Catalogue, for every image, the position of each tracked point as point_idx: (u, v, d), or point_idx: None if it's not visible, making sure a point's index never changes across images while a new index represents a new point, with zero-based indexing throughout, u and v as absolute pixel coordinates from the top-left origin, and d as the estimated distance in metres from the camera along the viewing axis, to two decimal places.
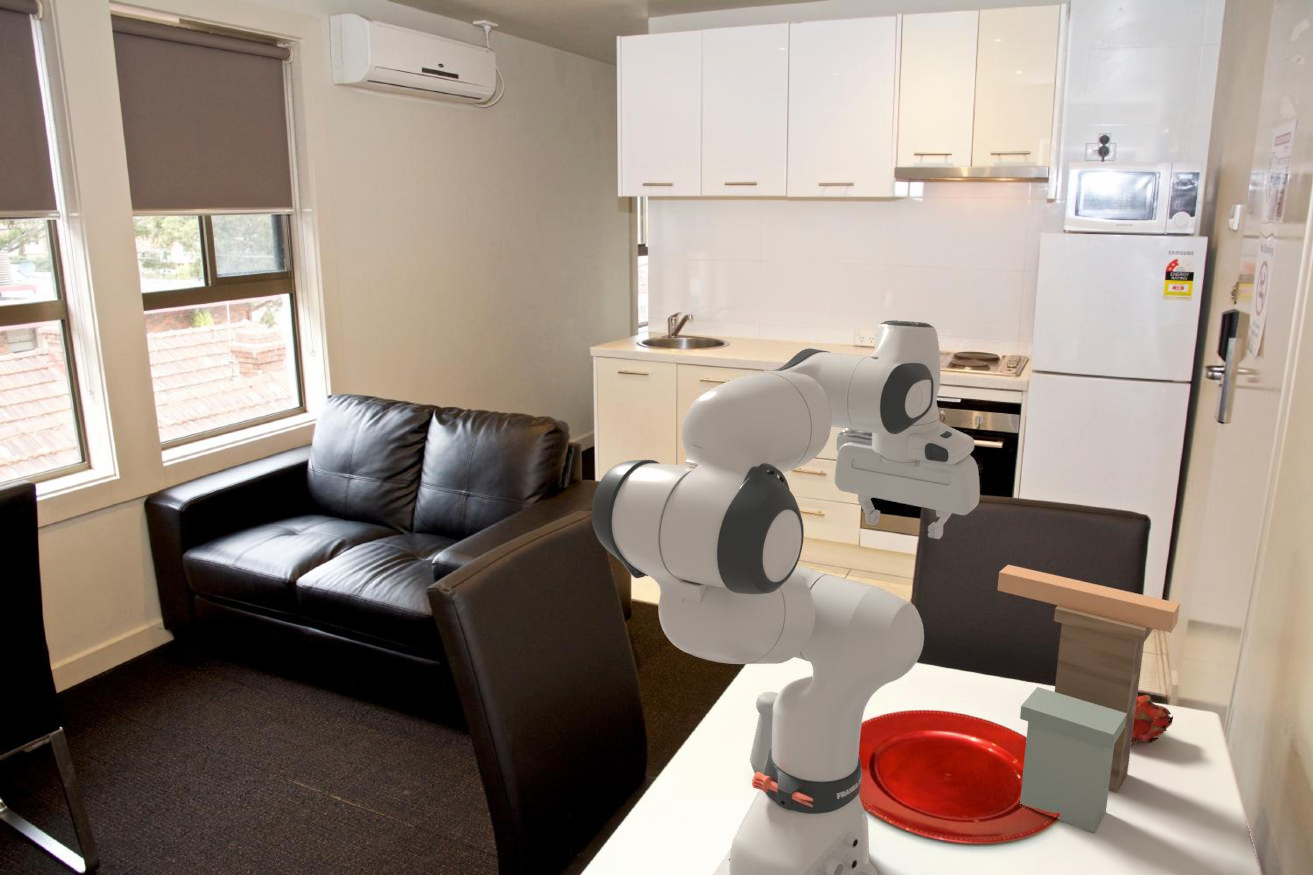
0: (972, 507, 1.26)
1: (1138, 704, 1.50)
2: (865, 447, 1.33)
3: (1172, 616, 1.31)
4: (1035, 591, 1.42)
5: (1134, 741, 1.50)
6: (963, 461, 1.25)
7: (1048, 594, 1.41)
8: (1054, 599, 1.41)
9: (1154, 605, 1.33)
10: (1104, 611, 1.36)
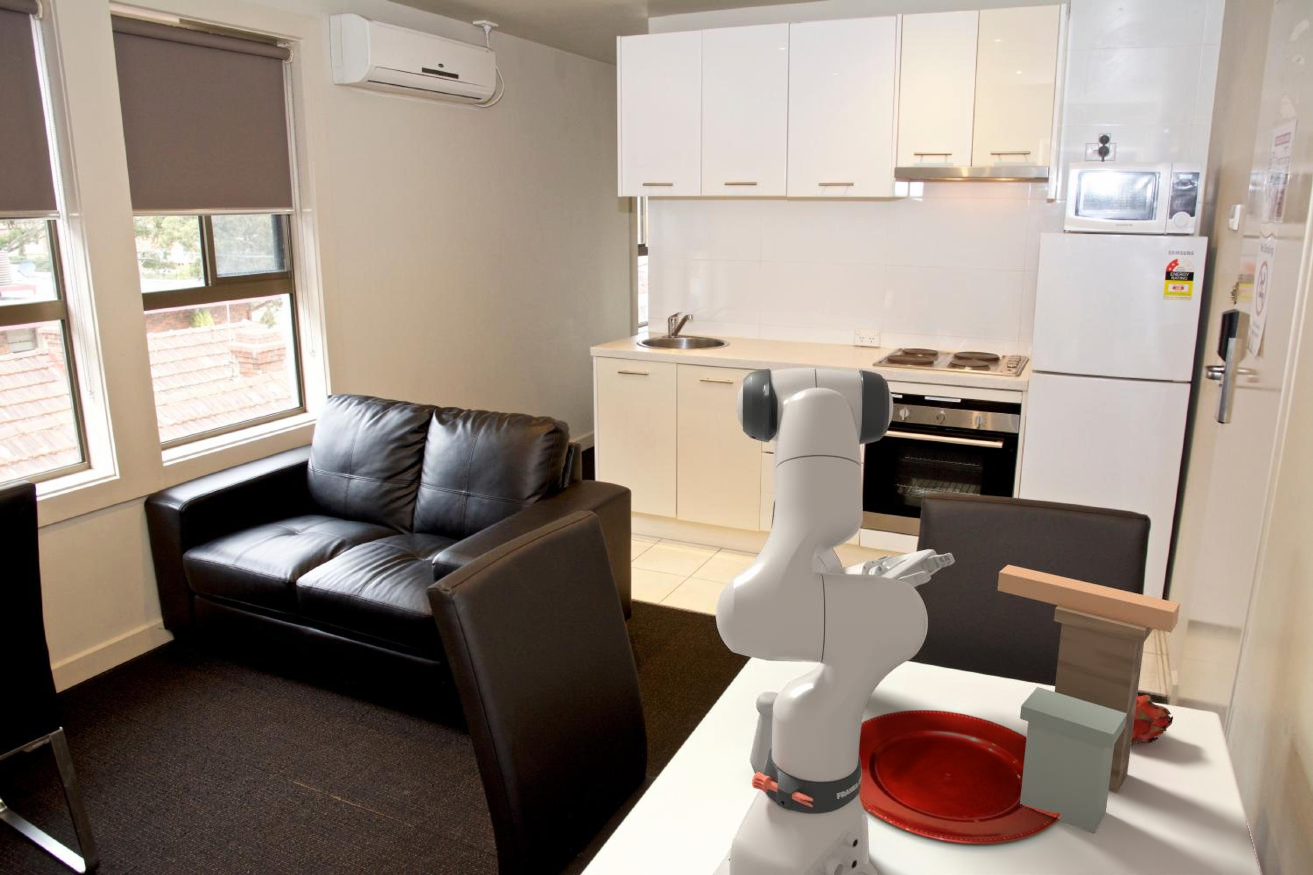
0: None
1: (1138, 704, 1.50)
2: None
3: (1172, 616, 1.31)
4: (1035, 591, 1.42)
5: (1134, 741, 1.50)
6: None
7: (1048, 594, 1.41)
8: (1054, 599, 1.41)
9: (1154, 605, 1.33)
10: (1104, 611, 1.36)
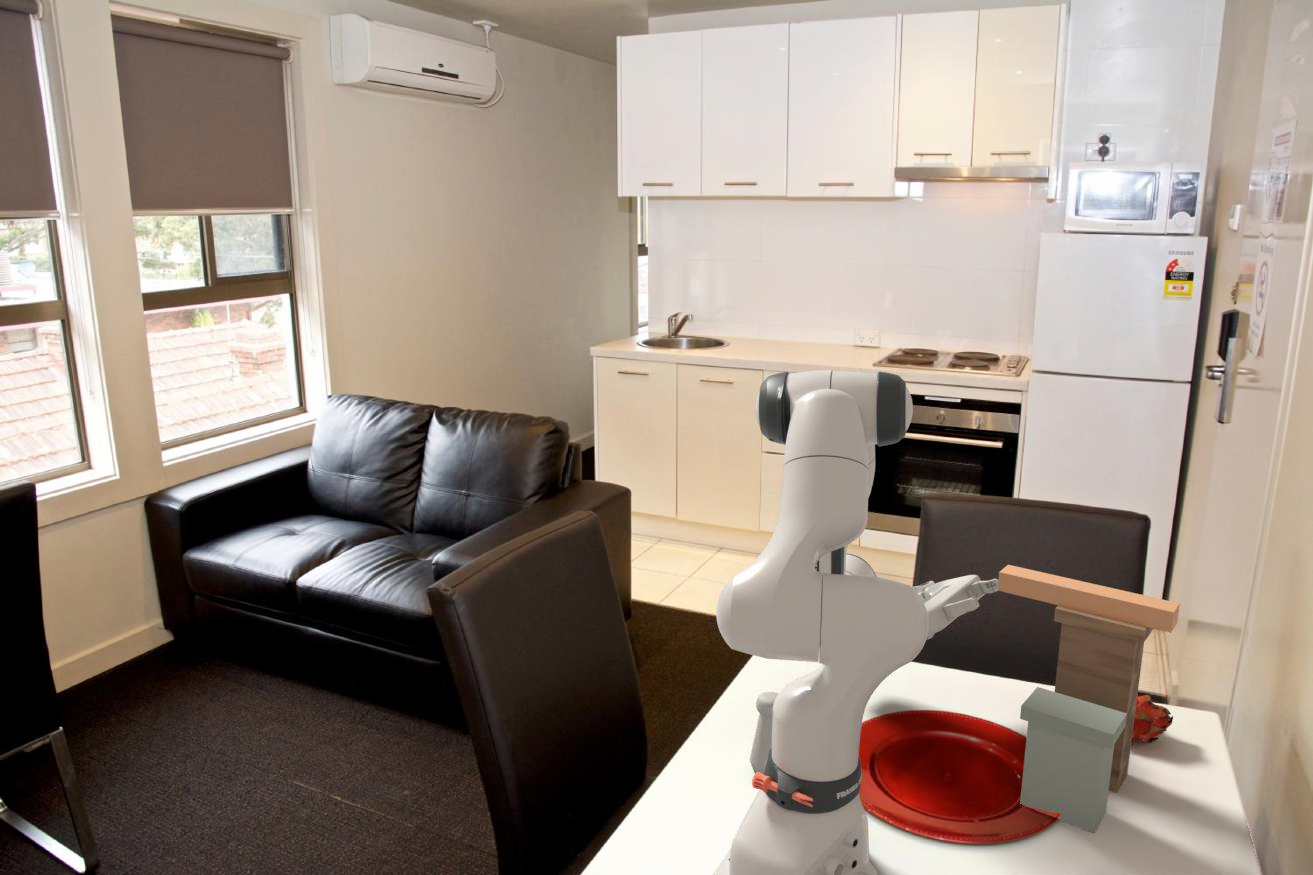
0: None
1: (1138, 704, 1.50)
2: None
3: (1172, 616, 1.31)
4: (1035, 591, 1.42)
5: (1134, 741, 1.50)
6: None
7: (1048, 594, 1.41)
8: (1054, 599, 1.41)
9: (1154, 605, 1.33)
10: (1104, 611, 1.36)
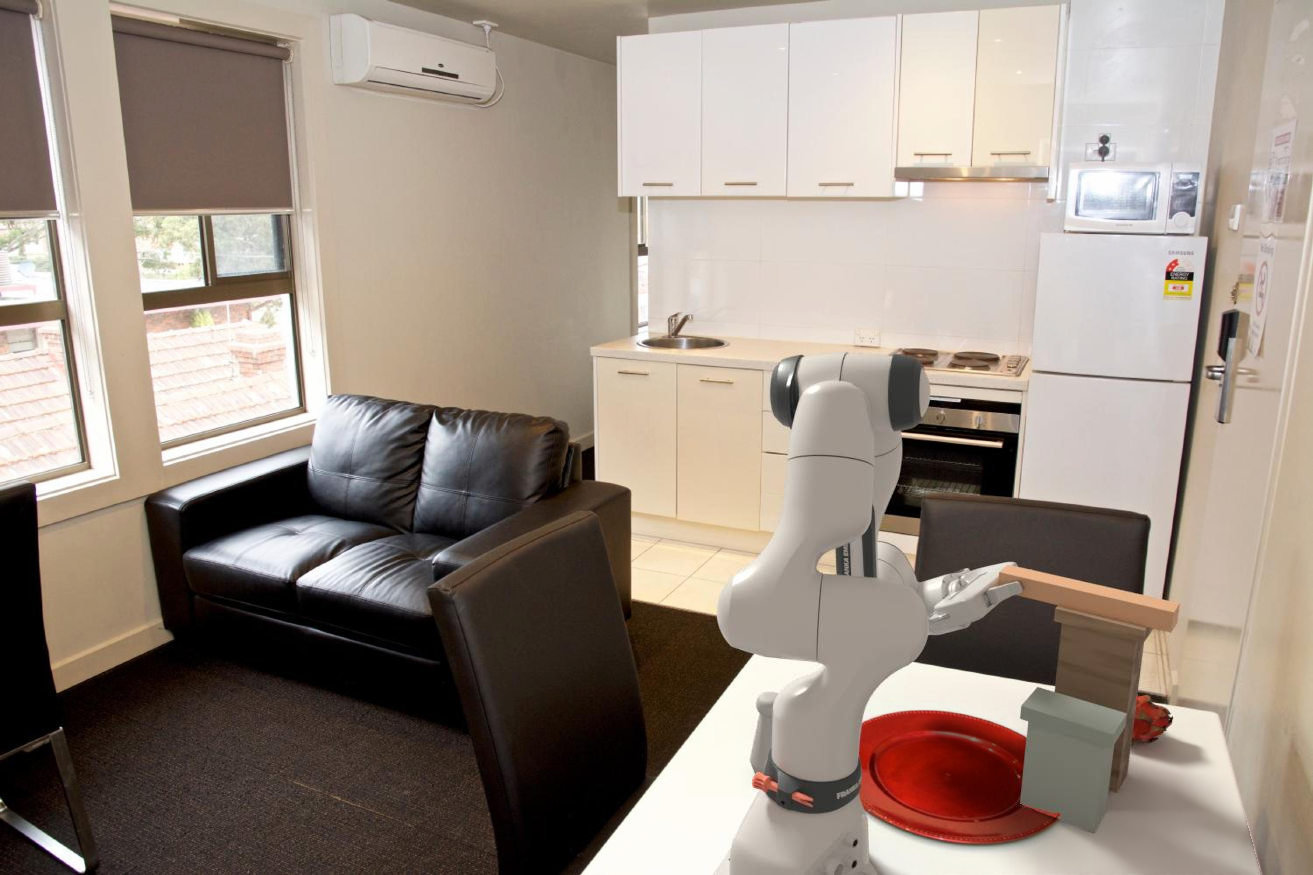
0: None
1: (1138, 704, 1.50)
2: None
3: (1172, 616, 1.31)
4: (1035, 591, 1.42)
5: (1134, 741, 1.50)
6: None
7: (1048, 594, 1.41)
8: (1054, 599, 1.41)
9: (1154, 605, 1.33)
10: (1104, 611, 1.36)
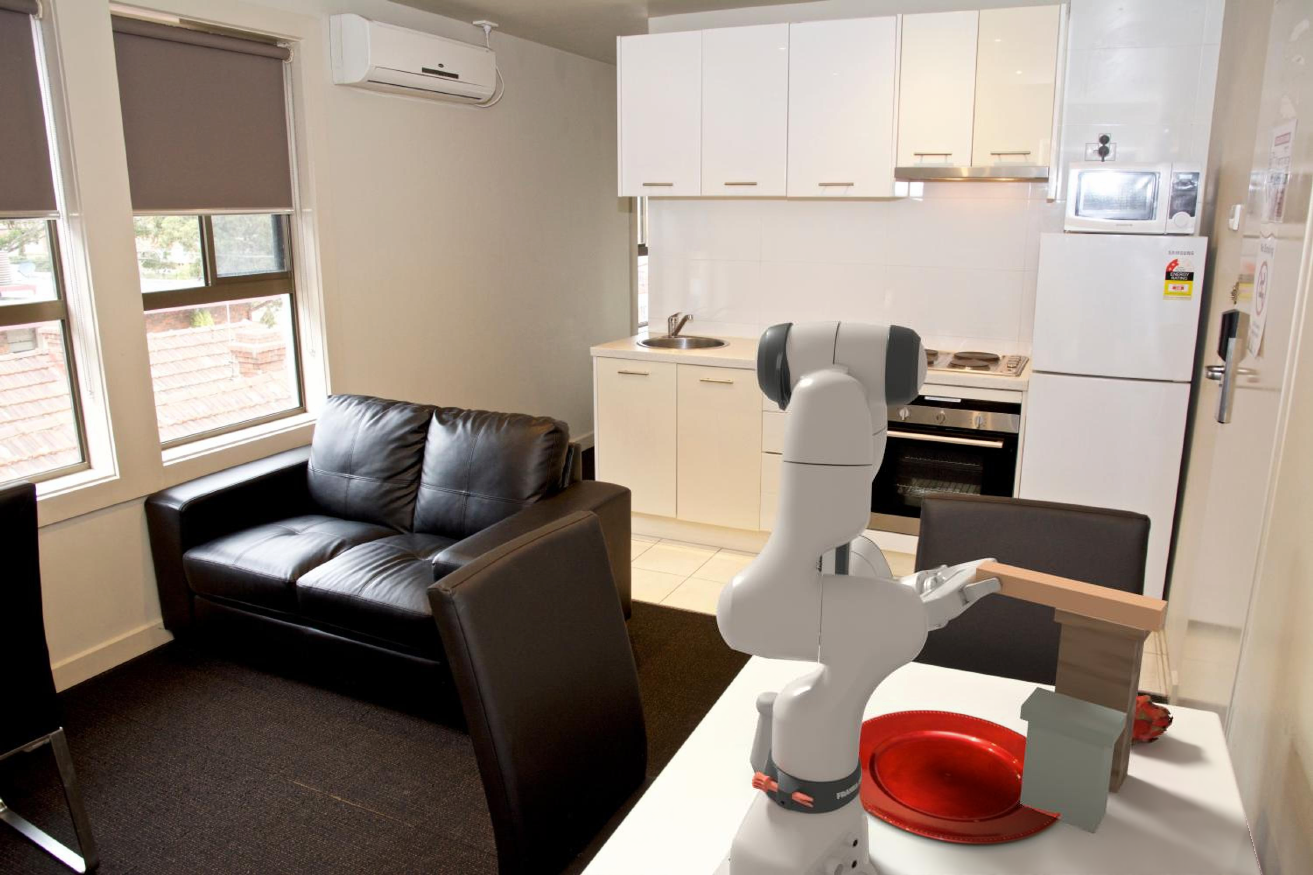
0: None
1: (1138, 704, 1.50)
2: None
3: (1159, 615, 1.22)
4: (1014, 588, 1.33)
5: (1134, 741, 1.50)
6: None
7: (1028, 591, 1.32)
8: (1034, 597, 1.32)
9: (1140, 603, 1.24)
10: (1087, 610, 1.28)
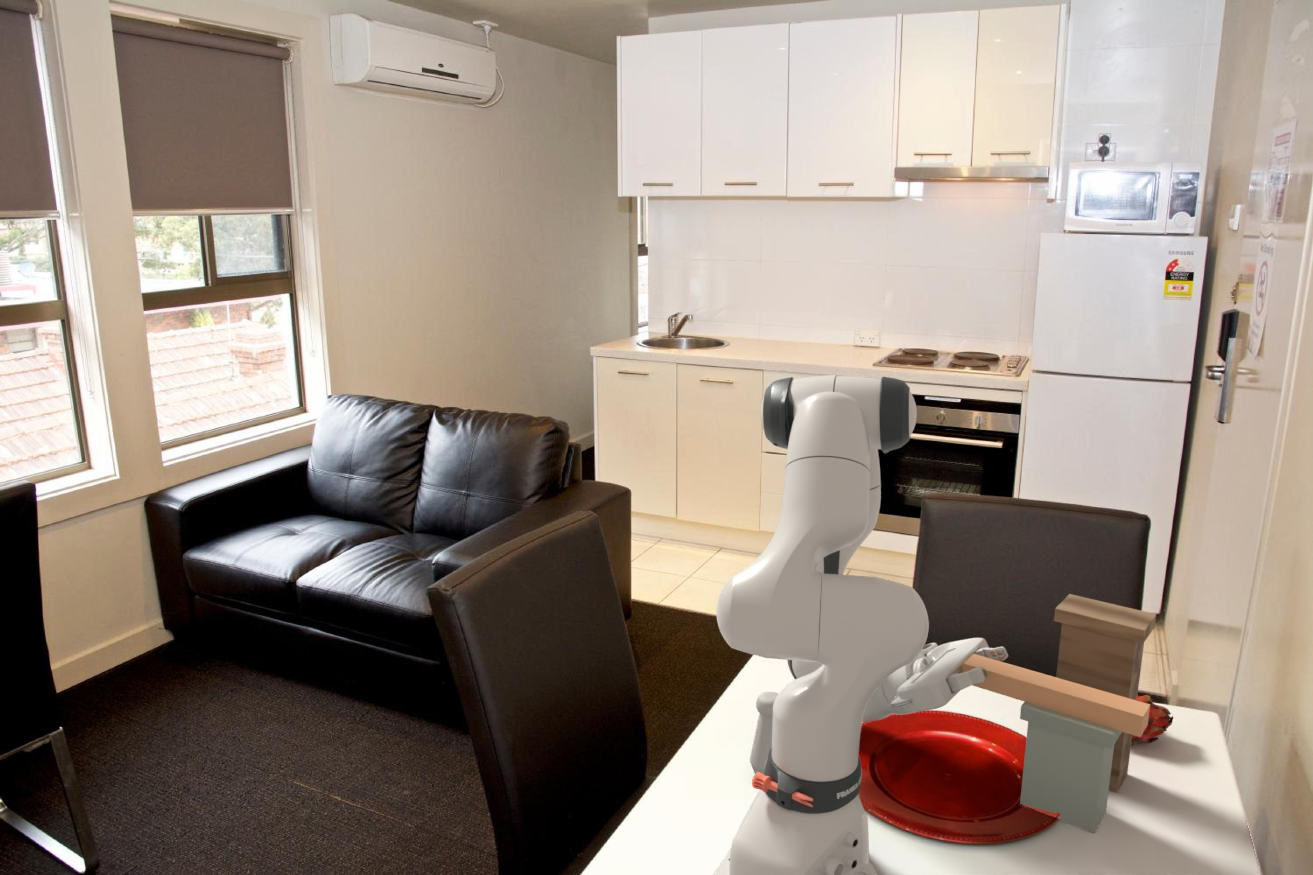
0: None
1: None
2: None
3: (1141, 720, 1.24)
4: (1000, 685, 1.36)
5: (1134, 741, 1.50)
6: None
7: (1014, 689, 1.34)
8: (1020, 695, 1.34)
9: (1123, 706, 1.26)
10: (1071, 711, 1.30)
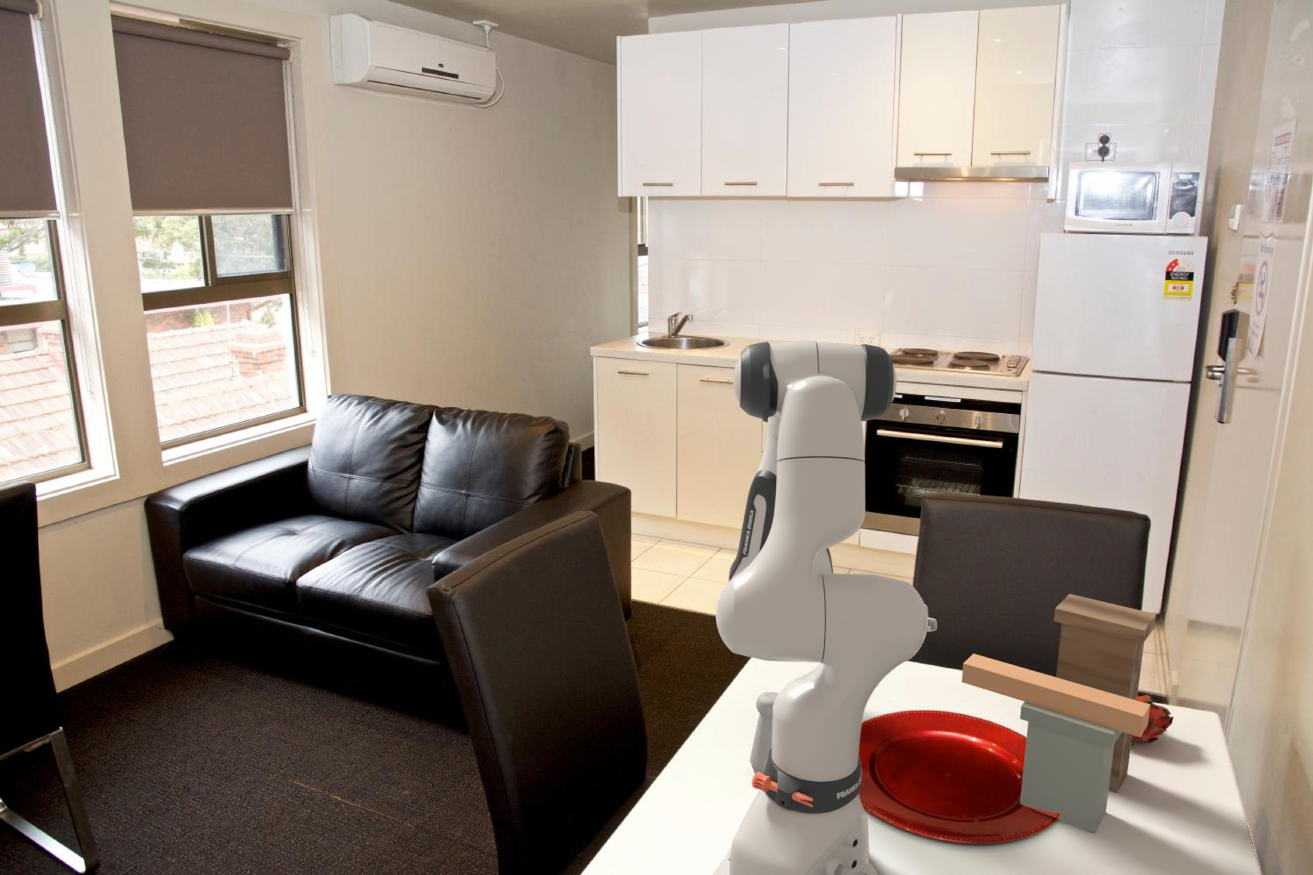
0: None
1: None
2: None
3: (1141, 720, 1.24)
4: (1000, 685, 1.36)
5: (1134, 741, 1.50)
6: None
7: (1014, 689, 1.34)
8: (1020, 695, 1.34)
9: (1123, 706, 1.26)
10: (1071, 711, 1.30)
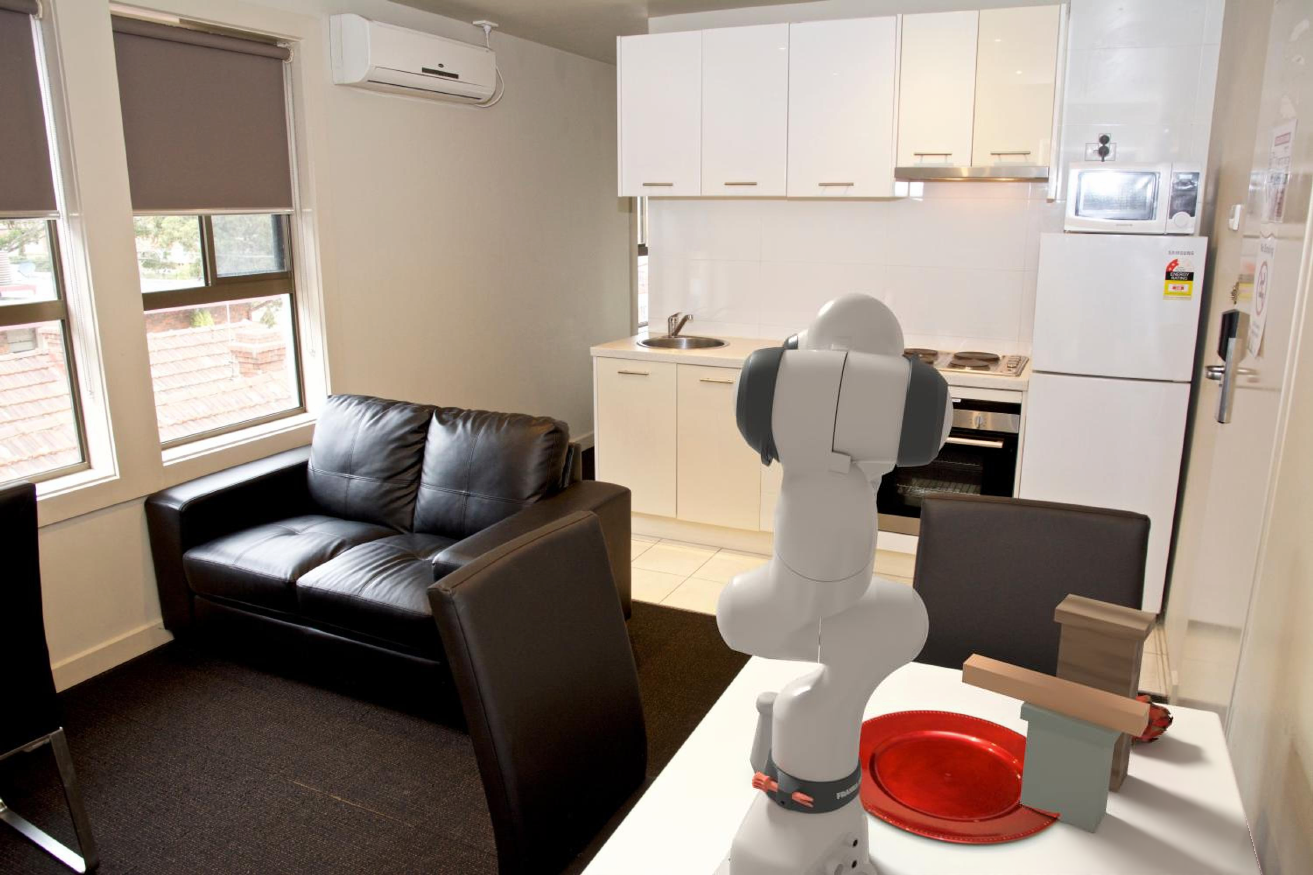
0: None
1: None
2: None
3: (1141, 720, 1.24)
4: (1000, 685, 1.36)
5: (1134, 741, 1.50)
6: None
7: (1014, 689, 1.34)
8: (1020, 695, 1.34)
9: (1123, 706, 1.26)
10: (1071, 711, 1.30)
